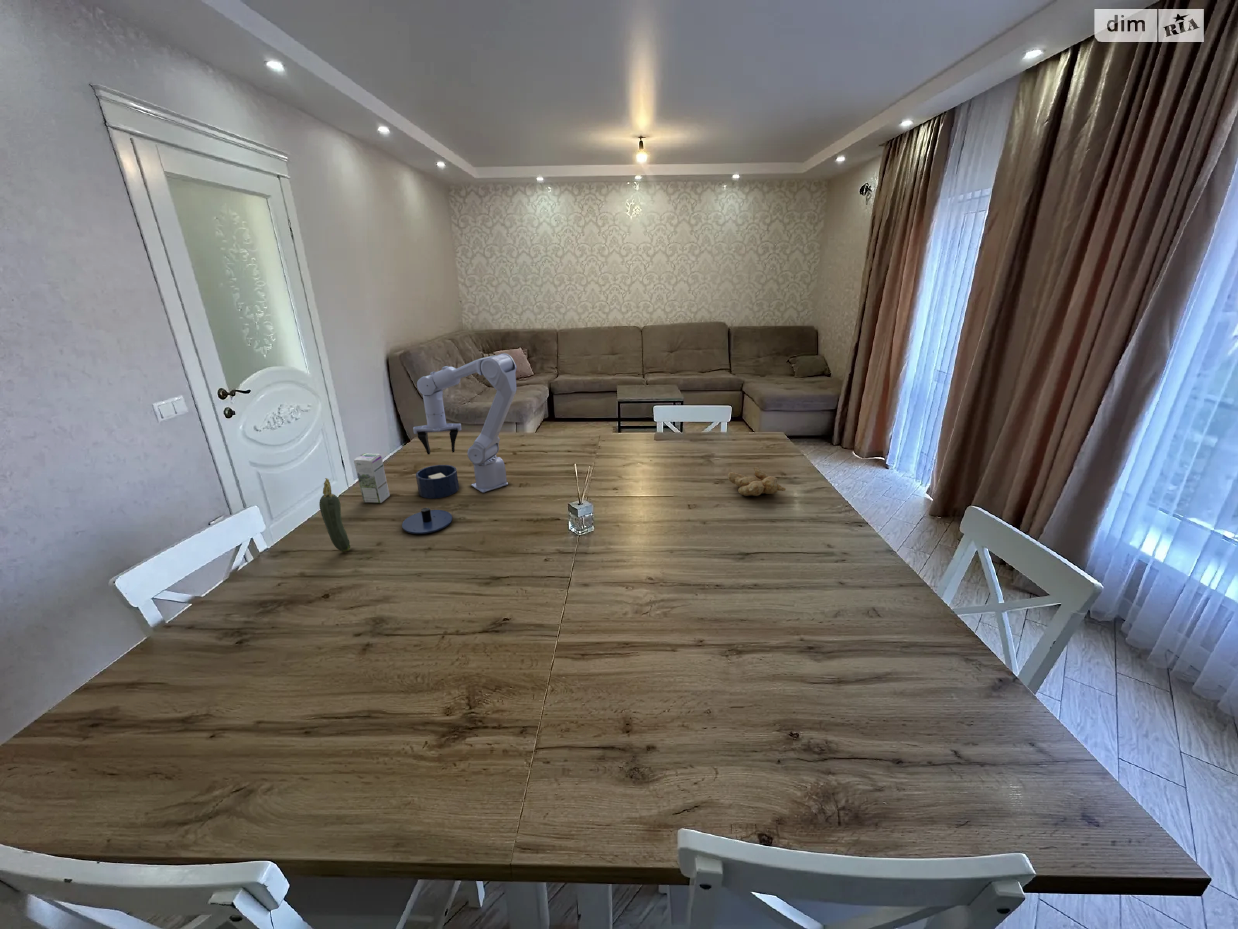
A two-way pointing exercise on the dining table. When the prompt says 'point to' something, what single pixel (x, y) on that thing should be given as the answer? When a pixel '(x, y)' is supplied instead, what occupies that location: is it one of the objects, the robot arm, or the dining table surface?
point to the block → (436, 476)
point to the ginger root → (755, 483)
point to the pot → (437, 481)
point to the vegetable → (333, 518)
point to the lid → (427, 521)
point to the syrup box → (372, 478)
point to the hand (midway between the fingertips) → (441, 452)
